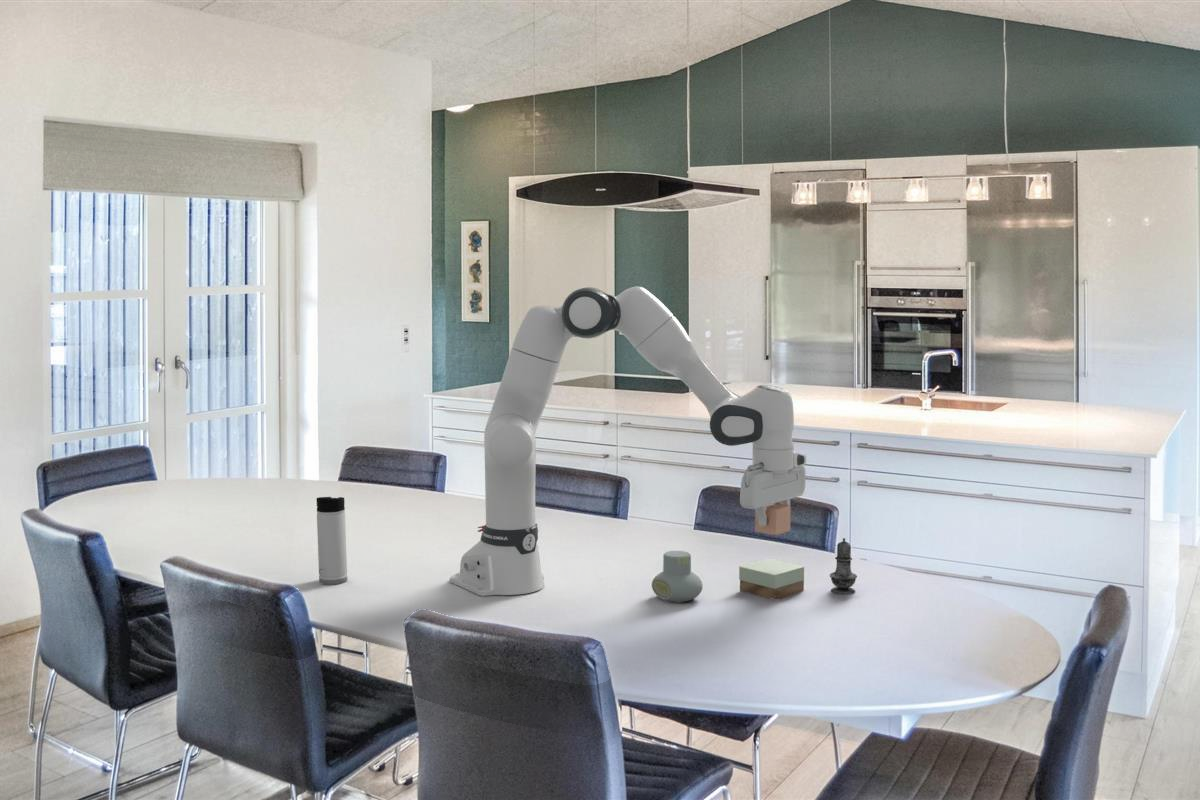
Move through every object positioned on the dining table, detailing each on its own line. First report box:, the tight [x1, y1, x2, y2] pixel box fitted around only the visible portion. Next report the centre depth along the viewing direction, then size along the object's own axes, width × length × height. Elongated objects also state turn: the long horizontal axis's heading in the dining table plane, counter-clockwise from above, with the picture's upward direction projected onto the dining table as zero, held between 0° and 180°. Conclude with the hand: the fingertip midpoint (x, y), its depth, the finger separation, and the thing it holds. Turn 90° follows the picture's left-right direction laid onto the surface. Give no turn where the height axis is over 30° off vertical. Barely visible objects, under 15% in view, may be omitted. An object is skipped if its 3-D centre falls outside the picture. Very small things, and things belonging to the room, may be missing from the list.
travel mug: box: [316, 496, 348, 586], centre depth 263 cm, size 6×7×20 cm
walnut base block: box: [739, 579, 805, 601], centre depth 254 cm, size 10×10×3 cm
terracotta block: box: [754, 503, 792, 536], centre depth 252 cm, size 6×6×6 cm
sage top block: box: [738, 558, 805, 589], centre depth 254 cm, size 10×10×3 cm
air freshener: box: [651, 550, 704, 604], centre depth 248 cm, size 11×8×10 cm
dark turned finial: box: [829, 537, 858, 596], centre depth 253 cm, size 6×6×12 cm
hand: (772, 522), depth 253 cm, fingers closed on terracotta block, 5 cm apart
